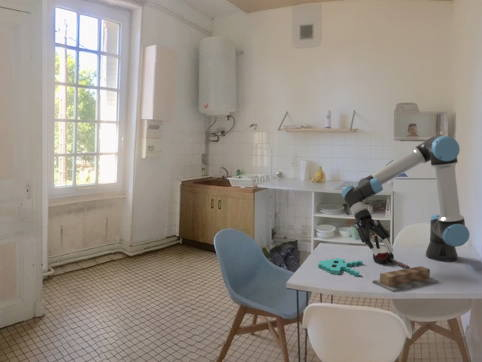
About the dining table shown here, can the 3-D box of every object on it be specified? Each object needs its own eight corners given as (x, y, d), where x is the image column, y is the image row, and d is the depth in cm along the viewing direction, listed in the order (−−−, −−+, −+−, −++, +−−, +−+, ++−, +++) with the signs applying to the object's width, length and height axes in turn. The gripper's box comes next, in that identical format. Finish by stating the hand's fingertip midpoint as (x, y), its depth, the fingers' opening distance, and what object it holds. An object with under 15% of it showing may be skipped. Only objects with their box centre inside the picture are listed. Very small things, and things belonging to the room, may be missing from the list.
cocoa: (383, 256, 193) (383, 232, 193) (392, 259, 188) (393, 234, 187) (367, 258, 190) (367, 233, 189) (376, 261, 184) (376, 235, 184)
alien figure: (362, 264, 205) (322, 261, 212) (362, 260, 204) (322, 256, 212) (358, 277, 186) (315, 272, 193) (358, 272, 186) (315, 268, 193)
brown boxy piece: (416, 274, 188) (416, 263, 188) (437, 282, 177) (438, 271, 177) (372, 282, 178) (372, 271, 177) (392, 291, 167) (392, 280, 166)
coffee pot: (370, 260, 209) (383, 260, 212) (395, 275, 193) (408, 275, 196) (374, 246, 208) (387, 247, 211) (399, 260, 192) (412, 261, 195)
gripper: (373, 215, 205) (397, 253, 192) (340, 219, 197) (362, 260, 184) (381, 206, 200) (405, 245, 187) (347, 210, 192) (370, 251, 179)
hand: (384, 252), depth 185 cm, fingers closed on cocoa, 8 cm apart
